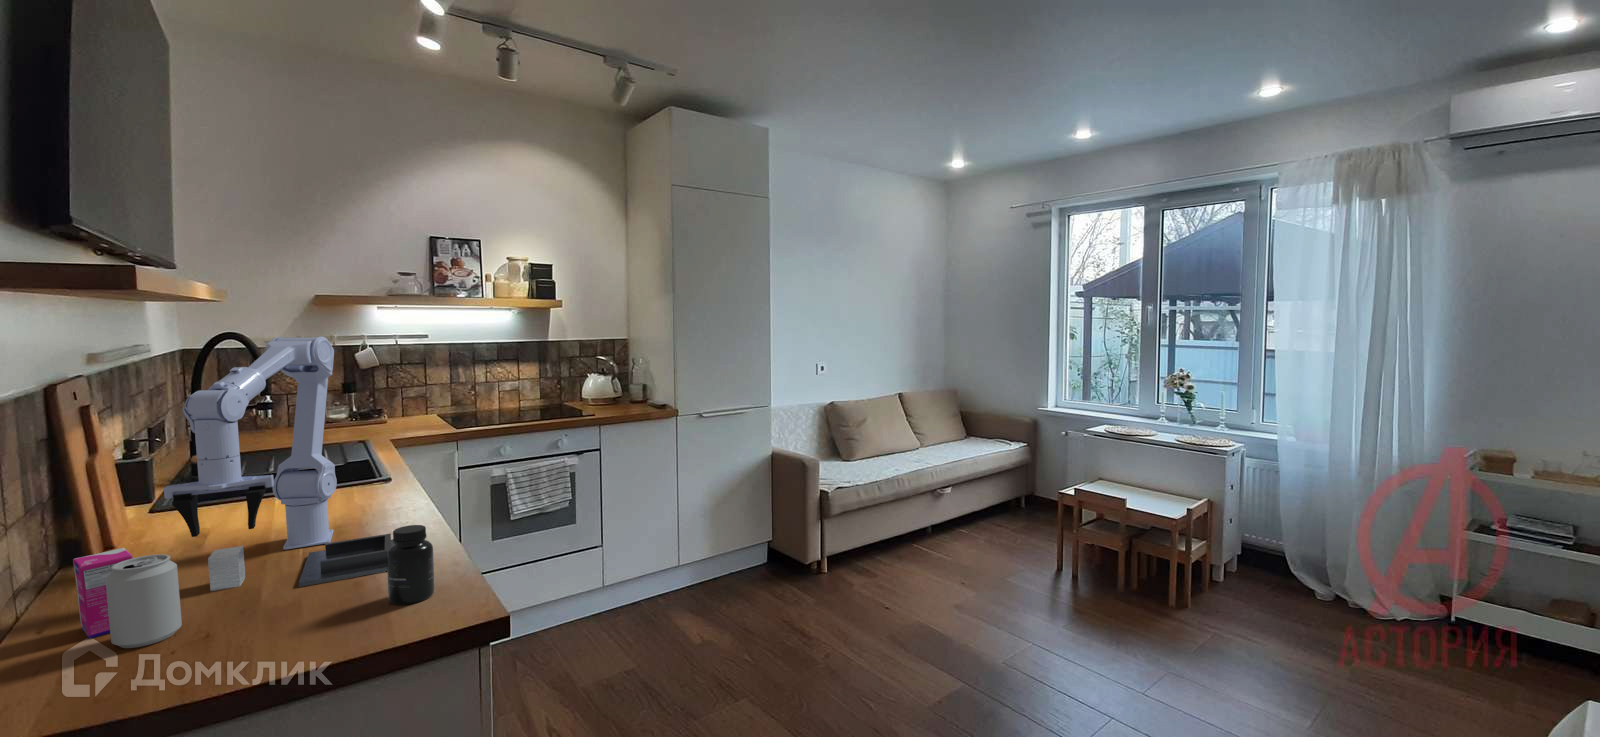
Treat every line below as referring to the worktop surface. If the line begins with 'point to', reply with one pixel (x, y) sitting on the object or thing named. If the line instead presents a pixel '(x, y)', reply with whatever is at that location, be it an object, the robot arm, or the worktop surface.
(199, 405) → the robot arm
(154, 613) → the can
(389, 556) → the supplement bottle
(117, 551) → the supplement box
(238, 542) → the worktop surface
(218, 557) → the block
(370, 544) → the cradle
